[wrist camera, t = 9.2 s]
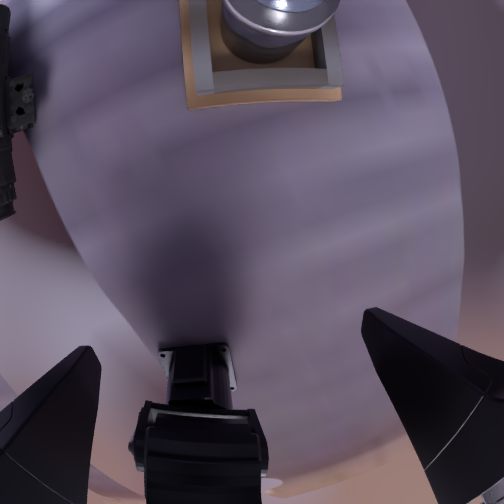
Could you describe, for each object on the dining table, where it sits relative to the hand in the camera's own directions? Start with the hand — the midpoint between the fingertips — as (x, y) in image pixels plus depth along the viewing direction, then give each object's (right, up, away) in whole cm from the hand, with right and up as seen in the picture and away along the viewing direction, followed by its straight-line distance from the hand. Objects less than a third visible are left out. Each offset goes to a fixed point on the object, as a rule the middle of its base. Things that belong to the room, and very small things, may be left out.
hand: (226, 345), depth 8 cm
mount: (+1, +17, +7) cm, 19 cm away
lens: (+1, +17, +6) cm, 18 cm away
